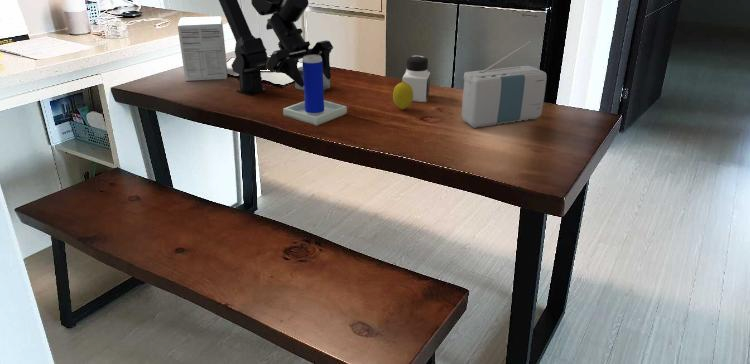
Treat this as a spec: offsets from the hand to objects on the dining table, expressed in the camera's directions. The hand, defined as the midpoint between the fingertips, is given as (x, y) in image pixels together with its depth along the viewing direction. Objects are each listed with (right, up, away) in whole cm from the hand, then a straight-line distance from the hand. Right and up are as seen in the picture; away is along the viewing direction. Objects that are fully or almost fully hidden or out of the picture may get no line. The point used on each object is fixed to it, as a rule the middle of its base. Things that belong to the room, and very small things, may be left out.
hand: (316, 82), depth 147 cm
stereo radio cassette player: (+48, -10, +2) cm, 49 cm away
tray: (-1, -8, +5) cm, 9 cm away
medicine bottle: (+27, -1, +18) cm, 33 cm away
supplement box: (-40, +9, +38) cm, 56 cm away
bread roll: (-21, +13, +46) cm, 53 cm away
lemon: (+23, -6, +9) cm, 25 cm away
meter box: (-4, +3, +26) cm, 27 cm away
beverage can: (-1, -7, +5) cm, 9 cm away
